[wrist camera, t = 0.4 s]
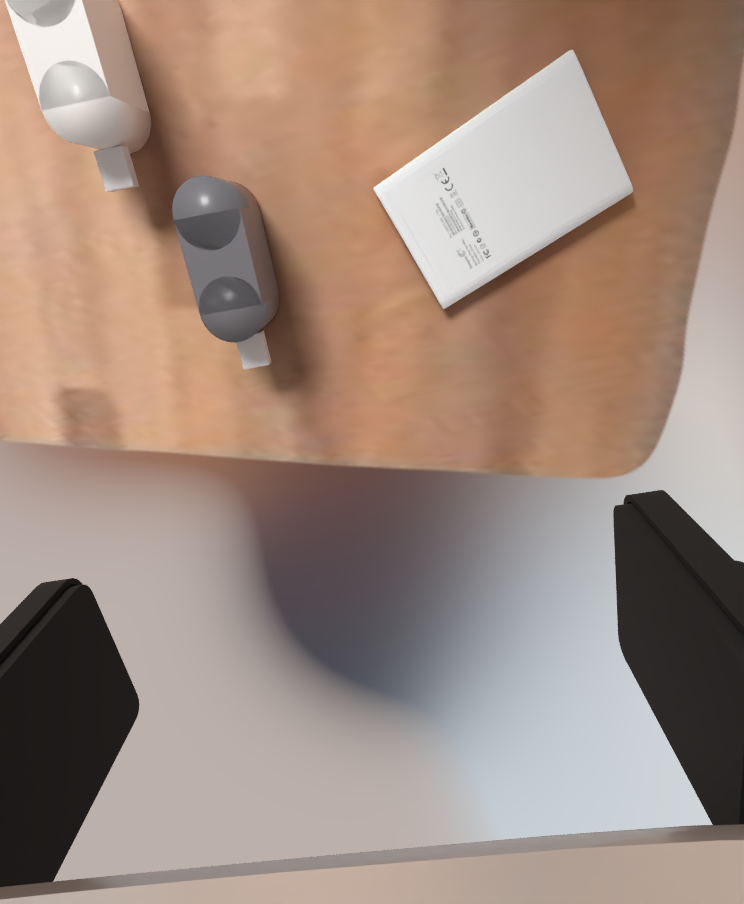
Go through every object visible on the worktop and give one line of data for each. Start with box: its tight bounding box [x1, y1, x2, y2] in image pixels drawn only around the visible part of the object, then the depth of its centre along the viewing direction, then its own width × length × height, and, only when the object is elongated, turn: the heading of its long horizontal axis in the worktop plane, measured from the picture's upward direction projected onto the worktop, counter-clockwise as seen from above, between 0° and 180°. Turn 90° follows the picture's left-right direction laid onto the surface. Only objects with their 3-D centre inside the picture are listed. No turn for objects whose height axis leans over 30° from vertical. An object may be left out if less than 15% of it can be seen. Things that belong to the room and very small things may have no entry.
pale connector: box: [5, 0, 151, 192], centre depth 30 cm, size 11×4×5 cm, turn 10°
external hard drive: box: [373, 50, 633, 309], centre depth 34 cm, size 2×8×12 cm
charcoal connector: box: [172, 176, 280, 369], centre depth 34 cm, size 11×4×5 cm, turn 10°
